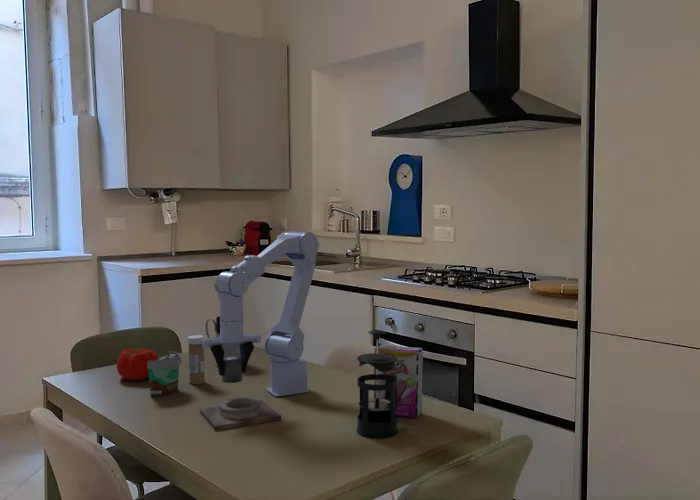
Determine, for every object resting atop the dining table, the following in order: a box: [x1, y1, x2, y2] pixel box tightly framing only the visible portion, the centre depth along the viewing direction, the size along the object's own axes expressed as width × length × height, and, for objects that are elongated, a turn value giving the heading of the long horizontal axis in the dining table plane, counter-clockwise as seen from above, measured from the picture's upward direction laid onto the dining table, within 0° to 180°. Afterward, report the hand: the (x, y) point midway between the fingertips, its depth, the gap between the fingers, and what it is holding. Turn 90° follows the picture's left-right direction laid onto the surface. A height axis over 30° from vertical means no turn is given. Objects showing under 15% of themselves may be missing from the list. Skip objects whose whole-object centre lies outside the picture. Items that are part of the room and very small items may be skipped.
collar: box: [199, 397, 282, 431], centre depth 159 cm, size 16×14×3 cm
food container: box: [147, 350, 183, 398], centre depth 179 cm, size 12×6×10 cm, turn 168°
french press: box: [356, 329, 399, 439], centre depth 148 cm, size 12×9×23 cm
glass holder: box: [205, 315, 241, 367], centre depth 211 cm, size 9×14×15 cm, turn 57°
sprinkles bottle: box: [187, 334, 206, 385], centre depth 188 cm, size 5×5×14 cm
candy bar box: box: [373, 344, 424, 419], centre depth 160 cm, size 11×5×16 cm, turn 71°
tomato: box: [116, 347, 160, 382], centre depth 194 cm, size 13×12×8 cm
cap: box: [221, 356, 243, 384], centre depth 165 cm, size 5×5×6 cm
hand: (232, 373), depth 165 cm, fingers closed on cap, 5 cm apart
